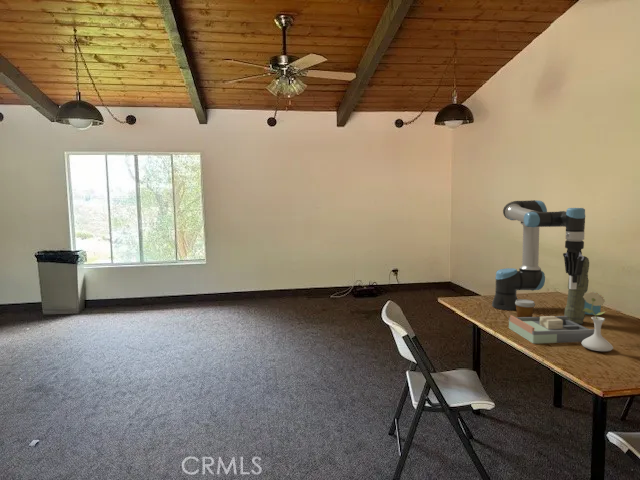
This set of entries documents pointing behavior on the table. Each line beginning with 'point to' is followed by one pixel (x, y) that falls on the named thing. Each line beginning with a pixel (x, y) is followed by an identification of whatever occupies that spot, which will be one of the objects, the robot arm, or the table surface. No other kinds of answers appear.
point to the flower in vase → (596, 325)
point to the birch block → (551, 322)
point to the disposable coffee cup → (524, 307)
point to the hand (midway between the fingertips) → (572, 288)
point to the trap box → (548, 330)
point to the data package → (595, 308)
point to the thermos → (578, 296)
